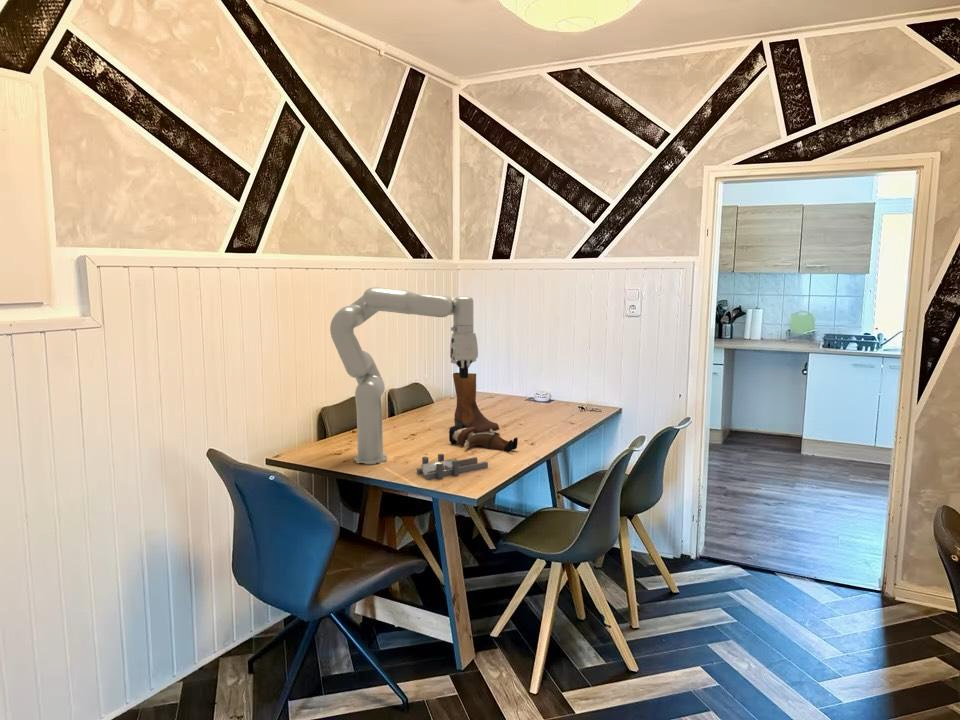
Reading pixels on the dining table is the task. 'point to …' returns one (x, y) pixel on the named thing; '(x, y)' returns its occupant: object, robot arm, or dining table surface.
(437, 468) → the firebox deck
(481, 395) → the dining table surface
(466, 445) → the toy
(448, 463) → the steel tube
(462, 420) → the boot
